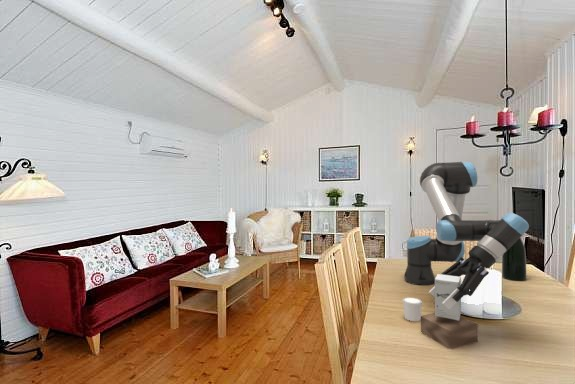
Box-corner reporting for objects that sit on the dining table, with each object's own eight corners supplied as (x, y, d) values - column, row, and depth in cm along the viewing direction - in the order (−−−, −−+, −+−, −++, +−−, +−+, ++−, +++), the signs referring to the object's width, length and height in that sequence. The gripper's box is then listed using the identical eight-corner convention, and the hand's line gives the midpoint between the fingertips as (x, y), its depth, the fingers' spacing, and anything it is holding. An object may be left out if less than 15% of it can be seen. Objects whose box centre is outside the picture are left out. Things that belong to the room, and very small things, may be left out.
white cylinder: (421, 315, 121) (421, 297, 121) (423, 323, 114) (422, 304, 114) (402, 313, 123) (402, 296, 123) (403, 321, 116) (402, 302, 116)
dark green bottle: (531, 281, 158) (530, 217, 158) (508, 281, 160) (507, 217, 159) (519, 275, 168) (518, 215, 168) (498, 275, 170) (497, 215, 170)
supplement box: (434, 316, 103) (433, 278, 102) (437, 308, 109) (437, 273, 109) (459, 321, 98) (459, 282, 98) (461, 313, 105) (461, 276, 104)
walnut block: (420, 333, 107) (420, 316, 107) (447, 326, 111) (446, 310, 111) (449, 349, 96) (449, 330, 96) (477, 342, 100) (477, 323, 100)
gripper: (518, 269, 91) (464, 322, 92) (475, 253, 114) (432, 296, 115) (499, 251, 92) (445, 305, 93) (460, 238, 114) (417, 282, 115)
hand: (438, 300), depth 104 cm, fingers closed on supplement box, 10 cm apart
